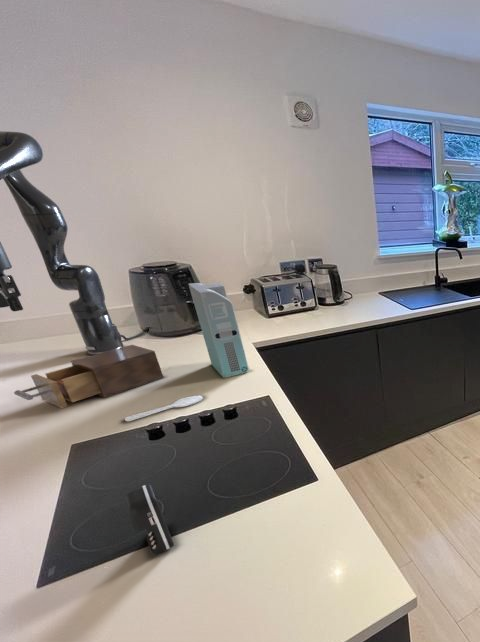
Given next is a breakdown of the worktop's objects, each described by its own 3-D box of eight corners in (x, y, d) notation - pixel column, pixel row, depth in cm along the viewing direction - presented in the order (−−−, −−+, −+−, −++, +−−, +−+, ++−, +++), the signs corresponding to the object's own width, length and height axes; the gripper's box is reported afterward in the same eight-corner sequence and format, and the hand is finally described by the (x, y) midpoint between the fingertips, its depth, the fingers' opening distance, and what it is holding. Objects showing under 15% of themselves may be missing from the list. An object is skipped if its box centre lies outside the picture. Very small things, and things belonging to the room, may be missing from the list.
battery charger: (141, 538, 74) (120, 490, 70) (167, 527, 77) (148, 479, 72) (148, 560, 70) (125, 510, 65) (175, 547, 72) (155, 498, 68)
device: (249, 371, 141) (228, 288, 130) (224, 378, 136) (199, 292, 124) (235, 358, 151) (215, 280, 140) (211, 364, 146) (188, 283, 135)
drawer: (37, 416, 110) (25, 391, 107) (18, 407, 114) (5, 382, 111) (124, 387, 126) (115, 364, 123) (104, 380, 130) (95, 358, 127)
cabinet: (104, 397, 122) (92, 368, 118) (82, 389, 126) (70, 361, 123) (163, 377, 135) (154, 350, 131) (141, 370, 140) (132, 344, 136)
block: (80, 388, 123) (74, 375, 121) (87, 391, 121) (82, 378, 119) (60, 394, 119) (54, 381, 117) (68, 397, 117) (62, 384, 116)
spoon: (123, 417, 112) (122, 415, 111) (200, 394, 125) (199, 393, 124) (127, 424, 108) (126, 422, 108) (205, 400, 121) (205, 398, 121)
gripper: (16, 253, 112) (40, 308, 118) (-7, 249, 117) (17, 302, 123) (-26, 257, 105) (3, 315, 112) (-48, 252, 110) (-20, 308, 117)
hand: (10, 308), depth 117 cm, fingers open, 8 cm apart
